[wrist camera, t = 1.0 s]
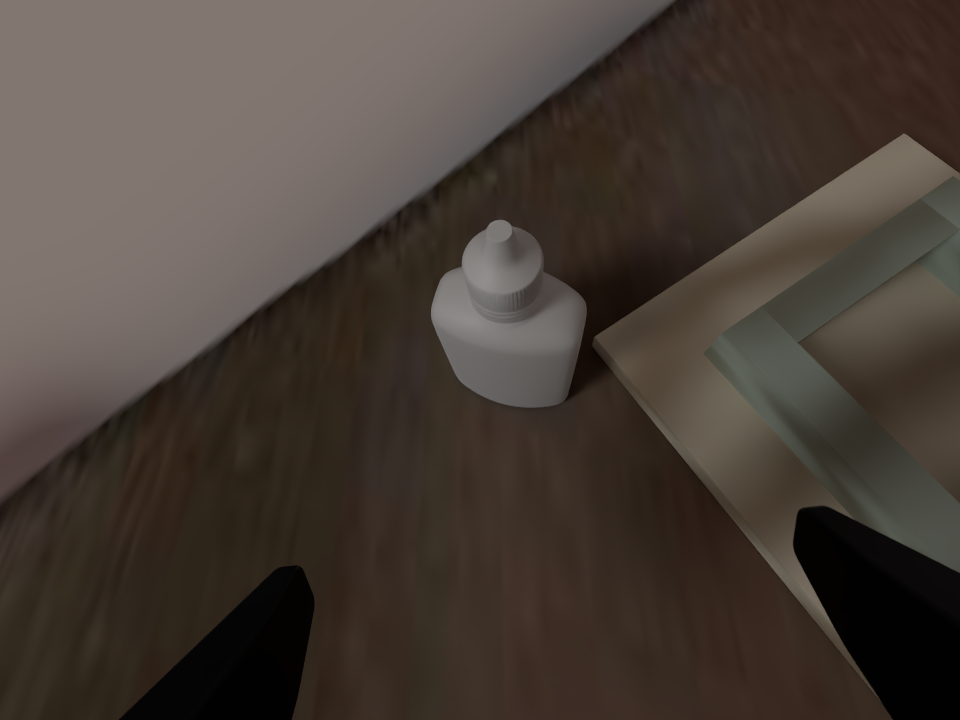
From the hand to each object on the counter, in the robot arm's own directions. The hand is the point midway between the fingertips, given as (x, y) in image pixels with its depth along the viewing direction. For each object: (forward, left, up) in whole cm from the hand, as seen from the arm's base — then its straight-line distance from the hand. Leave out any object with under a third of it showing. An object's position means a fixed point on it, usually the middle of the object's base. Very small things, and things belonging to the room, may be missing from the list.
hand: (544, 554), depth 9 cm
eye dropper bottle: (+7, -4, -14) cm, 16 cm away
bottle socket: (-4, -18, -13) cm, 22 cm away
